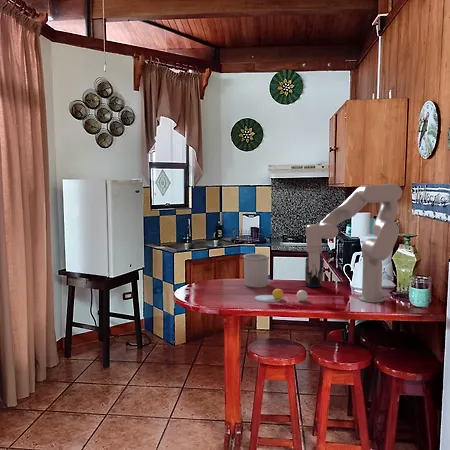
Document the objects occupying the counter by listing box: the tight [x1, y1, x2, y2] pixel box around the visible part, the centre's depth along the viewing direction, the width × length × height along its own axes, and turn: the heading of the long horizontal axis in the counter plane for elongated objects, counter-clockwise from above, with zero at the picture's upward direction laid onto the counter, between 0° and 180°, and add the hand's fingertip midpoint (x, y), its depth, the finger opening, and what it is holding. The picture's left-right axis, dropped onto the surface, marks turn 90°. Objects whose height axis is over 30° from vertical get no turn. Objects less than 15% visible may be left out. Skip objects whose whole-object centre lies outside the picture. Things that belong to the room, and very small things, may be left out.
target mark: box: [254, 294, 283, 303], centre depth 235 cm, size 14×14×1 cm
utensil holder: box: [243, 253, 270, 288], centre depth 265 cm, size 15×15×18 cm
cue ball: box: [296, 289, 308, 302], centre depth 231 cm, size 6×6×6 cm
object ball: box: [272, 288, 284, 299], centre depth 234 cm, size 6×6×6 cm
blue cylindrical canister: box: [304, 256, 323, 288], centre depth 261 cm, size 10×10×18 cm
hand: (315, 284), depth 229 cm, fingers closed
